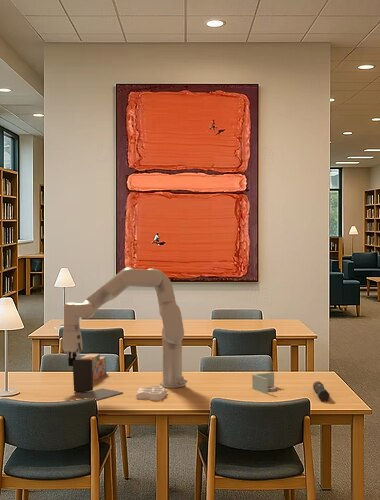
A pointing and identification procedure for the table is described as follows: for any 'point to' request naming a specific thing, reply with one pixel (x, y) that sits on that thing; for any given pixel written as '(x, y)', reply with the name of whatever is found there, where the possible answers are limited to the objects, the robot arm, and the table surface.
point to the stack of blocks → (97, 364)
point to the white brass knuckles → (151, 392)
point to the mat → (99, 394)
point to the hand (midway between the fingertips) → (72, 365)
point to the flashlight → (321, 391)
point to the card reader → (83, 375)
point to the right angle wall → (263, 382)
